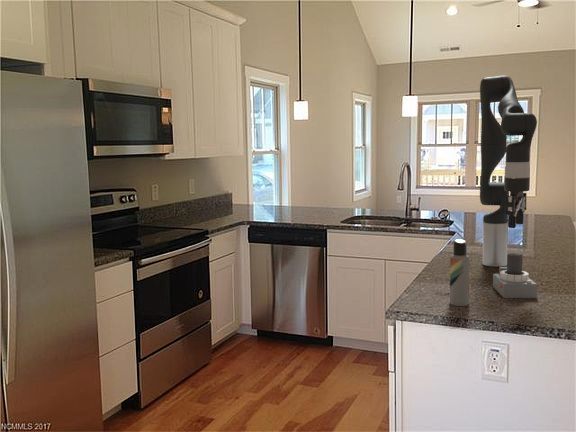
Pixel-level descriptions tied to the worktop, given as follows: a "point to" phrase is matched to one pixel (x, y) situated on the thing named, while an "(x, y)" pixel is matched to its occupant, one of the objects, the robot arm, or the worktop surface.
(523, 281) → the camera body
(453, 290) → the lotion bottle
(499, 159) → the robot arm
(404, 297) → the worktop surface
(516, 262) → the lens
